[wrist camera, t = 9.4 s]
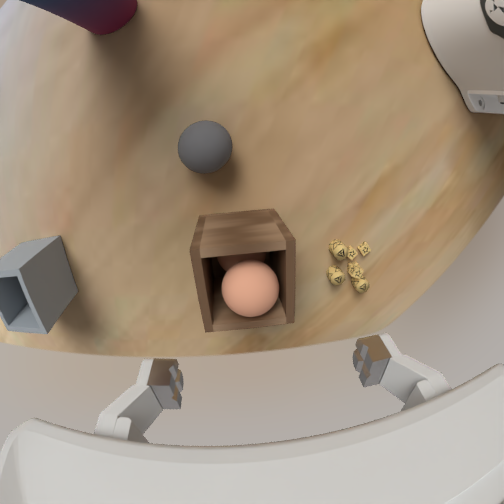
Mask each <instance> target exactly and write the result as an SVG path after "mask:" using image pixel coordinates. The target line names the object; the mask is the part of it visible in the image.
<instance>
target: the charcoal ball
mask: <svg viewBox="0 0 504 504" xmlns="http://www.w3.org/2000/svg"><path fill="white" fill-rule="evenodd" d="M231 152H232V140H231V137H230V135H229V133H228V131H227V130H226V129H225V128H224V127H223V126H221V125H220V124H218V123H216V122H213V121H199V122H196V123H194V124H192V125H190V126H189V127H188V128H186V129H185V130H184V132H183V133H182V135H181V137H180V139H179V142H178V153H179V157H180V159H181V161H182V162H183V164H184V165H185V166H186V167H187V168H189V169H190V170H192V171H194V172H197V173H211V172H214V171H216V170H218V169H220V168H221V167H223V166H224V165H225V164H226V162H227V161H228V159H229V158H230V155H231Z"/></svg>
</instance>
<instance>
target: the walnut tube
mask: <svg viewBox="0 0 504 504" xmlns="http://www.w3.org/2000/svg"><path fill="white" fill-rule="evenodd" d="M258 252H266V257H265V260H264V263H265V264H267V265H268V266H269V267H270V268H271V269H272V270H273V271H274V273H275V274H276V276H277V278H278V282H279V294H278V298H277V300H276V302H275V304H274V305H273V307H272V308H271V309H270V310H269V311H267V312H266V313H264V314H262V315H259V316H255V317H246V316H242V315H239V314H237V313H235V312H234V311H232V310H231V309H230V308H229V307H228V305H227V304H226V302H225V301H224V298H223V295H222V281H223V278H224V276H225V274H226V272H227V271H225V270H224V269H223V268H222V267H221V265H220V264H219V262H218V259H217V256H227V255H238V254H248V253H258ZM190 255H191V261H192V267H193V272H194V278H195V283H196V289H197V294H198V299H199V304H200V309H201V314H202V319H203V323H204V328H205V332H216V331H228V330H238V329H248V328H257V327H265V326H273V325H281V324H288V323H294V315H295V238H294V237H293V235H292V234H291V232H290V231H289V229H288V228H287V227H286V225H285V224H284V222H283V221H282V219H281V218H280V216H279V215H278V214H277V212H276V211H275V209H265V210H253V211H242V212H231V213H221V214H211V215H202V216H199V219H198V222H197V226H196V229H195V233H194V236H193V240H192V243H191V247H190Z"/></svg>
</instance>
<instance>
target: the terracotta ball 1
mask: <svg viewBox="0 0 504 504" xmlns="http://www.w3.org/2000/svg"><path fill="white" fill-rule="evenodd" d="M265 257H266V252H258V253H248V254H238V255H227V256H217V259H218V262H219V264H220V265H221V267H222V268H223V269H224V270H225V271H228V270H229V269H230V268H231V267H232V266H233V265H234V264H236V263H238V262H240V261H243V260H258V261H261V262H263V263H264V260H265Z"/></svg>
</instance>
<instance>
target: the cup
mask: <svg viewBox="0 0 504 504" xmlns="http://www.w3.org/2000/svg"><path fill="white" fill-rule="evenodd" d="M21 1H23V2H26V3H29V4H31V5H34V6H36V7H39V8H41V9H44V10H46V11H49V12H51V13H53V14H55V15H58V16H60V17H62V18H64V19H66V20H69V21H71V22H73V23H75V24H77V25H79V26H81V27H83V28H85V29H87V30H89V31H91V32H92V33H95V34H99V35H103V34H109V33H111V32H114V31H116V30H118V29H120V28H121V27H123V26H124V25H125V24H126V23H127V22H128V21H129V20H130V19H131V18H132V17H133V15H134V13H135V11H136V8H137V0H21Z"/></svg>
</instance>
